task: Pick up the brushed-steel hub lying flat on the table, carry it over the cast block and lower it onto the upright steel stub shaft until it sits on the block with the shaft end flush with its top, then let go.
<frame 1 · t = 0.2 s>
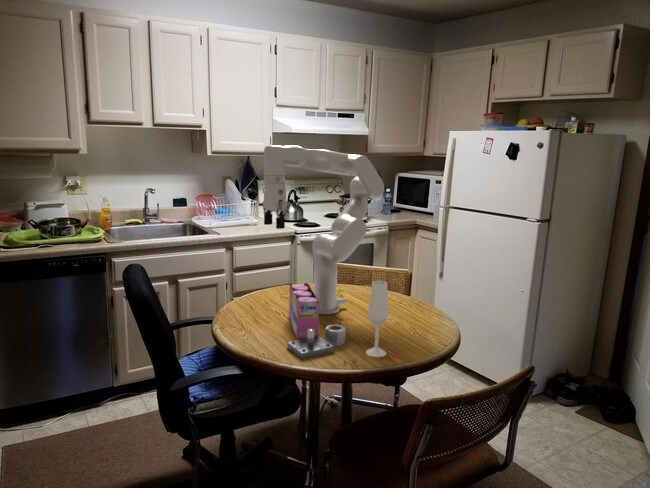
hand: (274, 226, 178), 36 cm above the table, tool pointing down, fingers open, 9 cm apart
shaft block: (310, 349, 158), on the table
hub: (335, 341, 165), on the table
gum box: (302, 326, 179), on the table
champagne flute: (375, 353, 157), on the table
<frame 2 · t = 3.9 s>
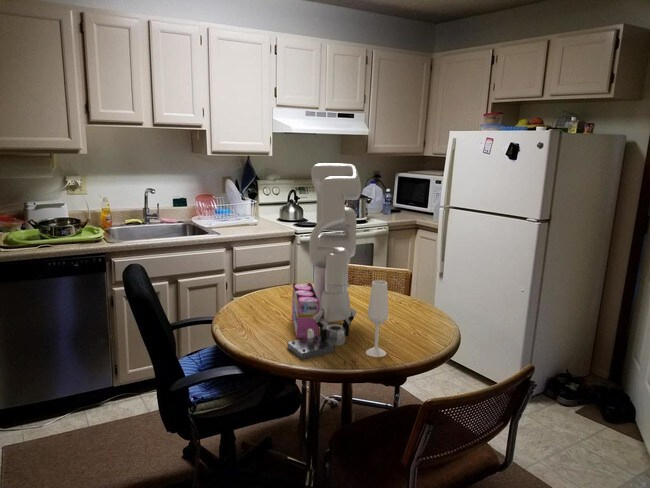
hand: (334, 336, 164), 2 cm above the table, tool pointing down, fingers open, 8 cm apart
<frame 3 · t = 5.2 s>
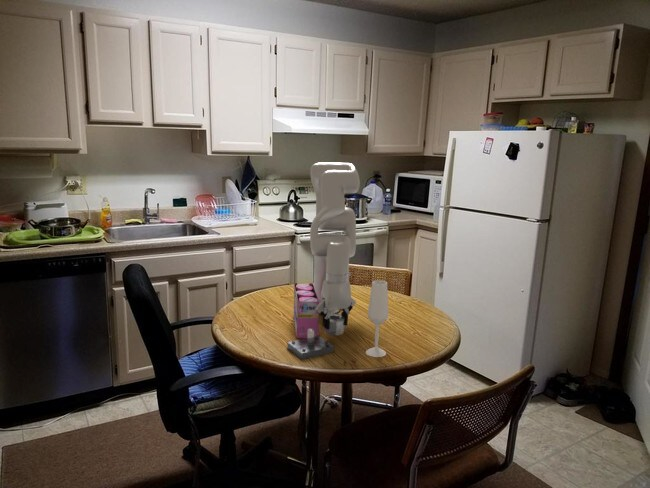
hand: (335, 325, 165), 5 cm above the table, tool pointing down, fingers closed on hub, 6 cm apart
hub: (334, 330, 166), point 3 cm above the table, touching gripper
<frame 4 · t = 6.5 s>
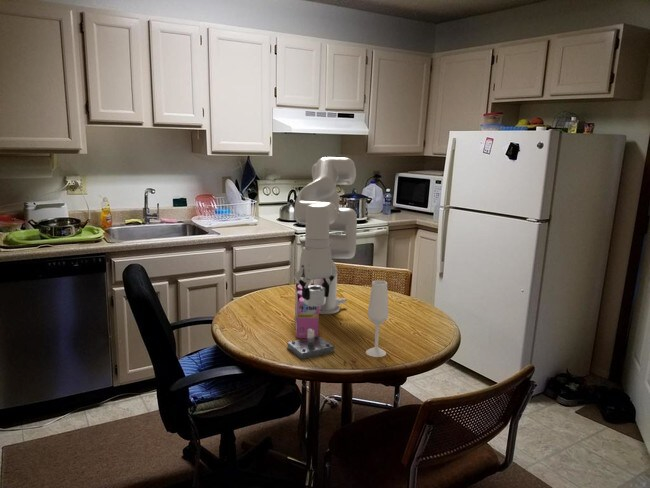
hand: (315, 296, 155), 18 cm above the table, tool pointing down, fingers closed on hub, 6 cm apart
hub: (314, 302, 156), point 16 cm above the table, touching gripper
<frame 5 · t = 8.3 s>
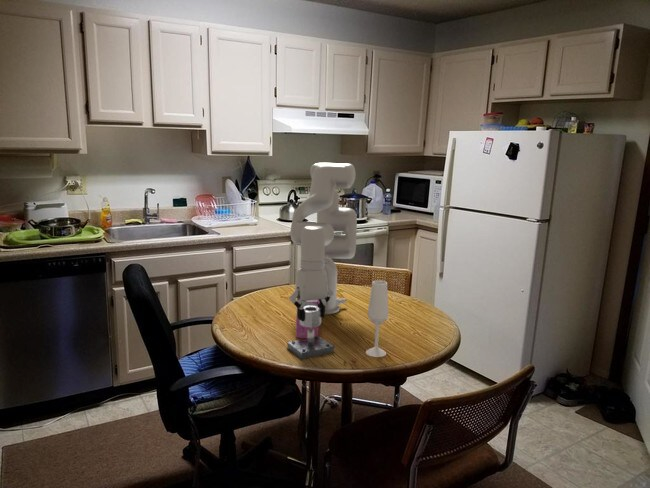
hand: (311, 317, 156), 11 cm above the table, tool pointing down, fingers closed on hub, 6 cm apart
hub: (310, 323, 156), point 9 cm above the table, touching gripper
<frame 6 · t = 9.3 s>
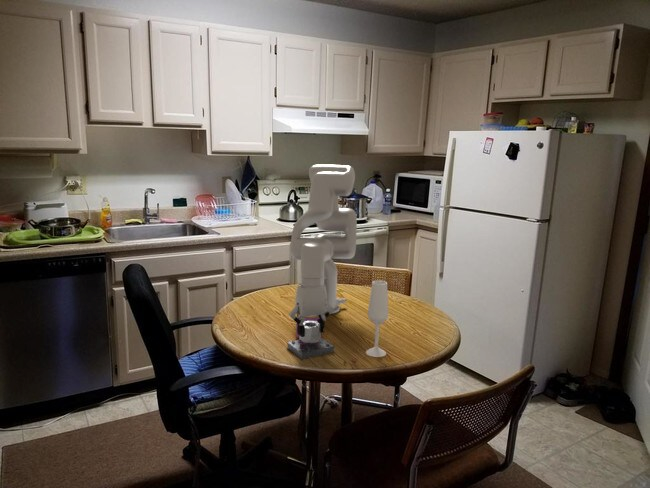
hand: (310, 333, 157), 6 cm above the table, tool pointing down, fingers closed on hub, 6 cm apart
hub: (310, 338, 158), point 4 cm above the table, touching gripper
when the fingers open (4 cm above the table, at t = 10.4 s): hub stays where it is, resting on shaft block.
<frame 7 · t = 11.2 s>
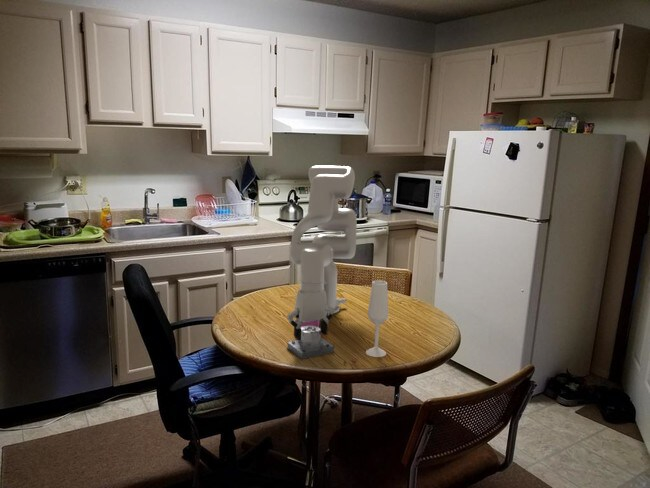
hand: (310, 336, 157), 5 cm above the table, tool pointing down, fingers open, 9 cm apart
hub: (310, 343, 158), point 2 cm above the table, touching shaft block
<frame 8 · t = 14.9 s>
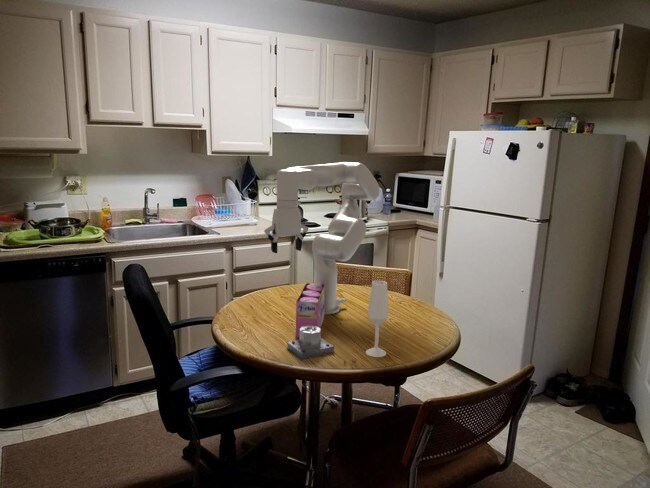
hand: (286, 251, 174), 28 cm above the table, tool pointing down, fingers open, 9 cm apart
at the end: hub 0.6 cm off-centre on the shaft block, point 2.0 cm above the shaft block's base; hub tilted 0°; the gripper is holding nothing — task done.
